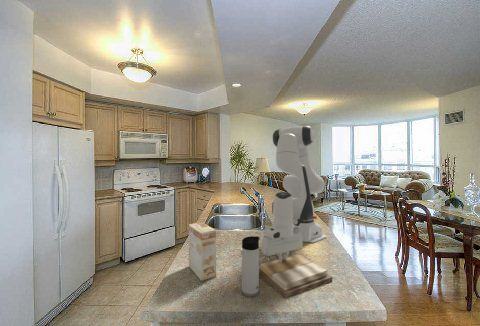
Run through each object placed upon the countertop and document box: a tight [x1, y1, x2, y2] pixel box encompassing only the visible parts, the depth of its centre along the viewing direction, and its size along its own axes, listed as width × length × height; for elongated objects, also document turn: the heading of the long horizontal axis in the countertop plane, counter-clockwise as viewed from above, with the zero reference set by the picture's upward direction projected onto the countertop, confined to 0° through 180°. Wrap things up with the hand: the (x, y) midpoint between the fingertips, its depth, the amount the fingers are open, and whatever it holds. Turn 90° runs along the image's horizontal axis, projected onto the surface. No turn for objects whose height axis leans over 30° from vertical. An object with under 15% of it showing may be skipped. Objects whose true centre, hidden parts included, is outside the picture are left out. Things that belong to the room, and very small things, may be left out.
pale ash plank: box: [272, 261, 328, 290], centre depth 90 cm, size 22×8×2 cm, turn 118°
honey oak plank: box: [259, 253, 313, 279], centre depth 98 cm, size 22×8×2 cm, turn 118°
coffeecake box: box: [188, 222, 217, 282], centre depth 98 cm, size 15×7×20 cm, turn 32°
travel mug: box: [241, 235, 261, 298], centre depth 83 cm, size 6×7×20 cm
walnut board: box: [259, 267, 334, 299], centre depth 94 cm, size 24×20×2 cm
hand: (282, 261), depth 99 cm, fingers closed, pressing on honey oak plank
